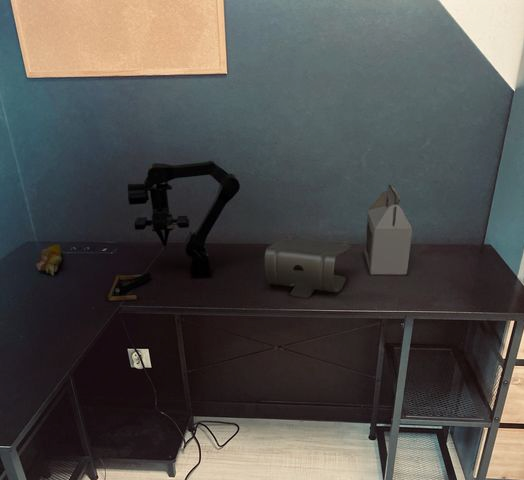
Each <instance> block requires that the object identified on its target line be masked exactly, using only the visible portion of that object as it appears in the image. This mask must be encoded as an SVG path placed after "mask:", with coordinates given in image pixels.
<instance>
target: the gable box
mask: <svg viewBox="0 0 524 480" xmlns="http://www.w3.org/2000/svg"><path fill="white" fill-rule="evenodd" d="M394 187H395V186H393V187H392V185H391V184H388V185H387V190H386V191H384V192H382V193H381V194H380V196H379V197H378V198H377V199H376V200H375V202H374V203H373V204H372V205H371V206H370V208H369V209H368V210H367V215H366V216H367V217H366V226H365V227H366V228H365V229H366V230H365V241H364V253H363V254H364V257H365V261H366V264H367V268H368V271H369V275H380V276H381V275H383V276H384V275H388V276H389V275H390V276H391V275H395V276H396V275H398V276H399V275H404V276H406V275H407V274H408V268H409V267H408V266H409V259H410V252H411V243H412V235H413V227H412V225H411V223H410V221H409V220H408V218H407V216H406V214H405V212H404V210H403V209H402V207H401V206H400V204H399V203H400V201H401V197H400V196H399V194H398V192H397V190H396V189H395V188H394Z"/></svg>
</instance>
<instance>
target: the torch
mask: <svg viewBox="0 0 524 480" xmlns="http://www.w3.org/2000/svg"><path fill="white" fill-rule="evenodd" d="M40 257H41V259H40V261H39V262H37V263H36V264H35V266H36V267H37V269H38V270H39V271H46V274H51V276H54V274H55V272H57V271H58V268H59V266H60V265H61V262H62V260H63V257H62V248H61V245H60V244H53V245H51V246H48V247H47V248H43V249H42V252H41V255H40Z"/></svg>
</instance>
